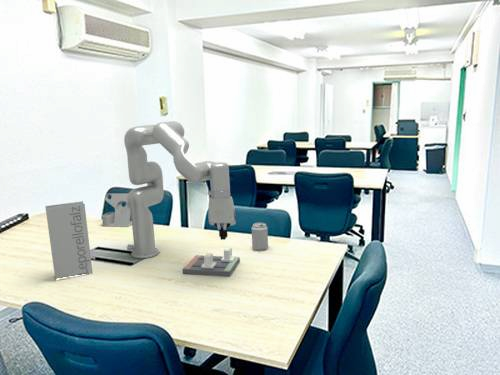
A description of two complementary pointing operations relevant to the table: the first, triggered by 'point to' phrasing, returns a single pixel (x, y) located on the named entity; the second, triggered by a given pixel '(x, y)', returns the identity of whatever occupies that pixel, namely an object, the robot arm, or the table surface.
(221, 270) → the slider switch panel
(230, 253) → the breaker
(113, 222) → the phone holder
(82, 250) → the brochure
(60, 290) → the table surface
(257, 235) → the can
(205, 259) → the breaker
